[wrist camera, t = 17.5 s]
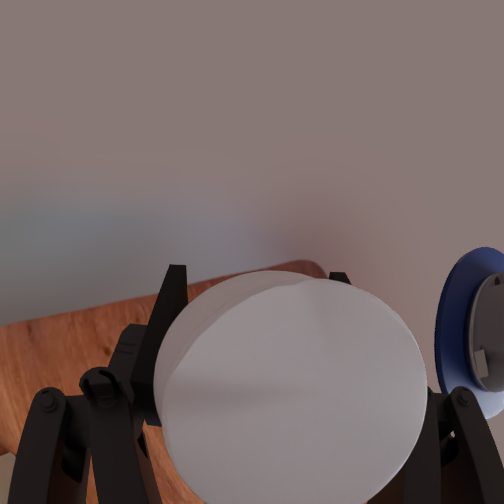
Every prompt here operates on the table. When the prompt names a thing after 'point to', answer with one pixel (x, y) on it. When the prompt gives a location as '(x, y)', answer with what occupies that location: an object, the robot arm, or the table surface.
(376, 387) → the supplement bottle
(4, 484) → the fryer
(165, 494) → the table surface
